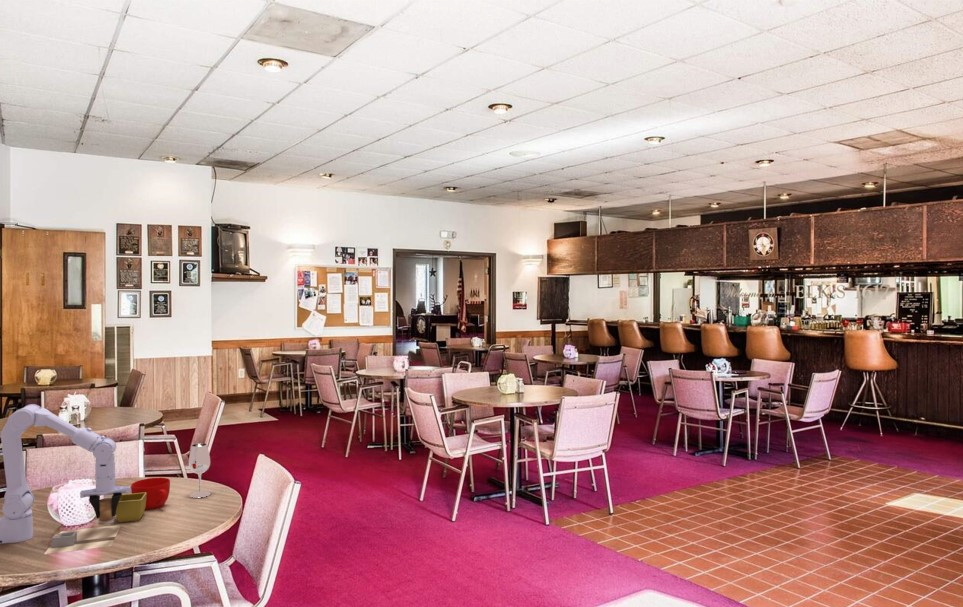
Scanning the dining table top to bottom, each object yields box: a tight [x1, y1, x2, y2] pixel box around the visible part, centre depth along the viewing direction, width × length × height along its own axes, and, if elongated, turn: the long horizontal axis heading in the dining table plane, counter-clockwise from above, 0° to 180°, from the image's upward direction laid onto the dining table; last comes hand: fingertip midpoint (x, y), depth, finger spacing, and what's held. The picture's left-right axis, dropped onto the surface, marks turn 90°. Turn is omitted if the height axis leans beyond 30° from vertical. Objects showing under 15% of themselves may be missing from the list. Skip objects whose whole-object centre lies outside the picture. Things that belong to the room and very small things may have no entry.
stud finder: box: [51, 531, 77, 548], centre depth 210 cm, size 6×4×3 cm, turn 110°
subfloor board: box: [43, 524, 122, 555], centre depth 215 cm, size 18×20×2 cm
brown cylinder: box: [98, 497, 115, 525], centre depth 223 cm, size 4×4×8 cm
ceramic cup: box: [130, 477, 171, 510], centre depth 246 cm, size 13×17×10 cm
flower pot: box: [115, 492, 147, 523], centre depth 234 cm, size 9×9×9 cm
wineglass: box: [188, 442, 211, 499], centre depth 263 cm, size 8×8×20 cm
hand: (106, 516), depth 223 cm, fingers closed on brown cylinder, 4 cm apart
